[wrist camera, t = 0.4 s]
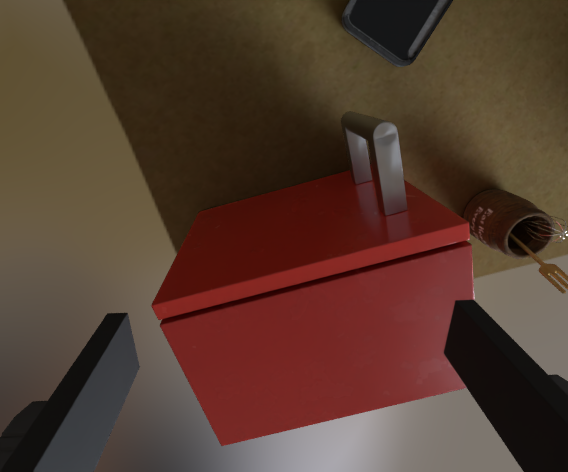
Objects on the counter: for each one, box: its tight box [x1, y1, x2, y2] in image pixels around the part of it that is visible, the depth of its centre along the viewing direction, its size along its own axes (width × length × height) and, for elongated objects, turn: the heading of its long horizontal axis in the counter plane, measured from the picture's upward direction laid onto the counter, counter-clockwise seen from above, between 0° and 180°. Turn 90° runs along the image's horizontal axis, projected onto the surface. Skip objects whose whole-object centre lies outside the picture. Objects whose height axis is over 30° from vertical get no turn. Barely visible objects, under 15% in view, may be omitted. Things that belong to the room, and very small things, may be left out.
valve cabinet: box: [160, 240, 474, 446], centre depth 32 cm, size 12×20×18 cm, turn 105°
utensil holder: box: [463, 189, 568, 293], centre depth 34 cm, size 6×6×12 cm
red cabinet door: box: [152, 111, 470, 320], centre depth 28 cm, size 8×20×18 cm, turn 105°
